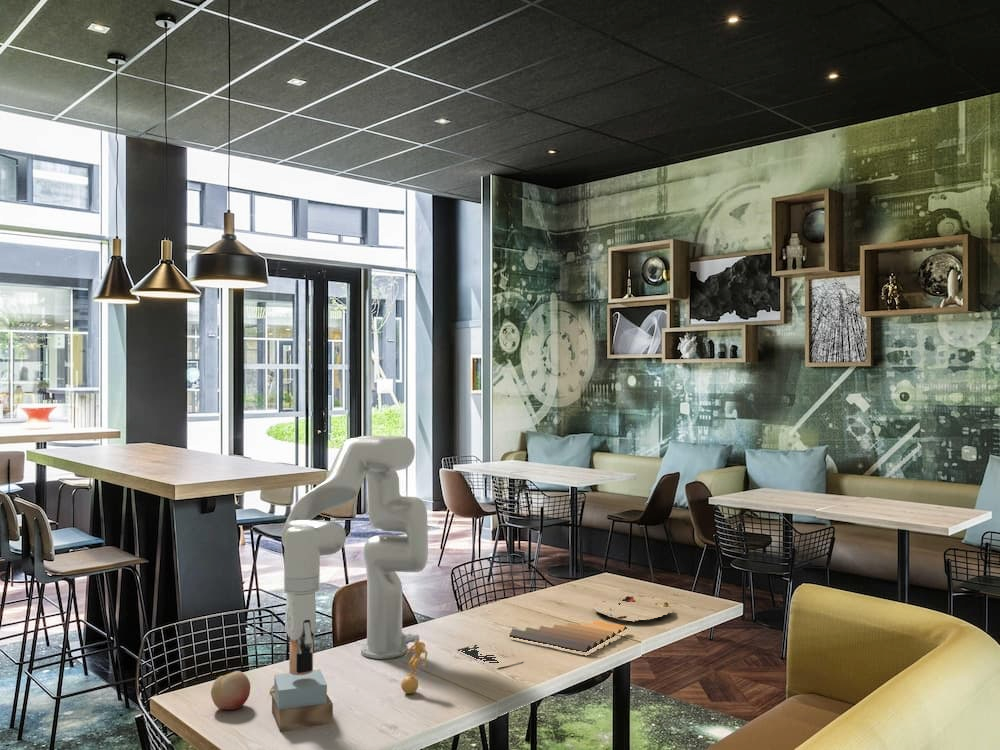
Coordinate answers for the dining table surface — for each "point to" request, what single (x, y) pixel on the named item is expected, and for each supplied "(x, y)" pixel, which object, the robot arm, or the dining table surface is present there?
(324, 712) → the bottom block
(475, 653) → the cell phone
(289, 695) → the top block
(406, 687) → the figurine
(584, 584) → the dining table surface
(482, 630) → the dining table surface
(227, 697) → the fruit
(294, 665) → the terracotta cylinder
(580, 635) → the pan flute
